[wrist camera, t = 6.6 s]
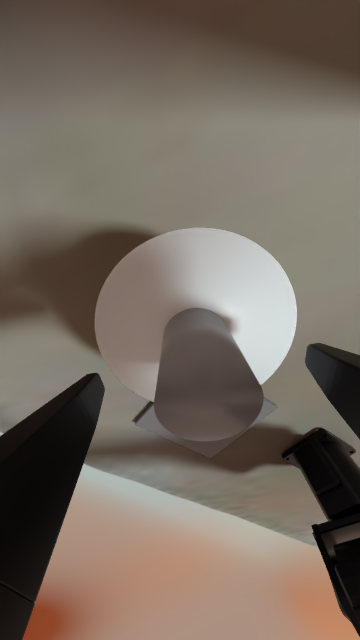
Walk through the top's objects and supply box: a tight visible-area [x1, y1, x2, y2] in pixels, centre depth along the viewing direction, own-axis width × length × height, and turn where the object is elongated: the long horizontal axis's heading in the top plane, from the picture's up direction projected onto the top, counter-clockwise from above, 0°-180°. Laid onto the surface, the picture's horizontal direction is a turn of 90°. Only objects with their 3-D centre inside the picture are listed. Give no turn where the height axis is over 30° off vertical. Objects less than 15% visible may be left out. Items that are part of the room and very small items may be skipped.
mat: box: [135, 397, 277, 459], centre depth 20 cm, size 11×11×1 cm
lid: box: [95, 228, 297, 441], centre depth 8 cm, size 11×11×5 cm
